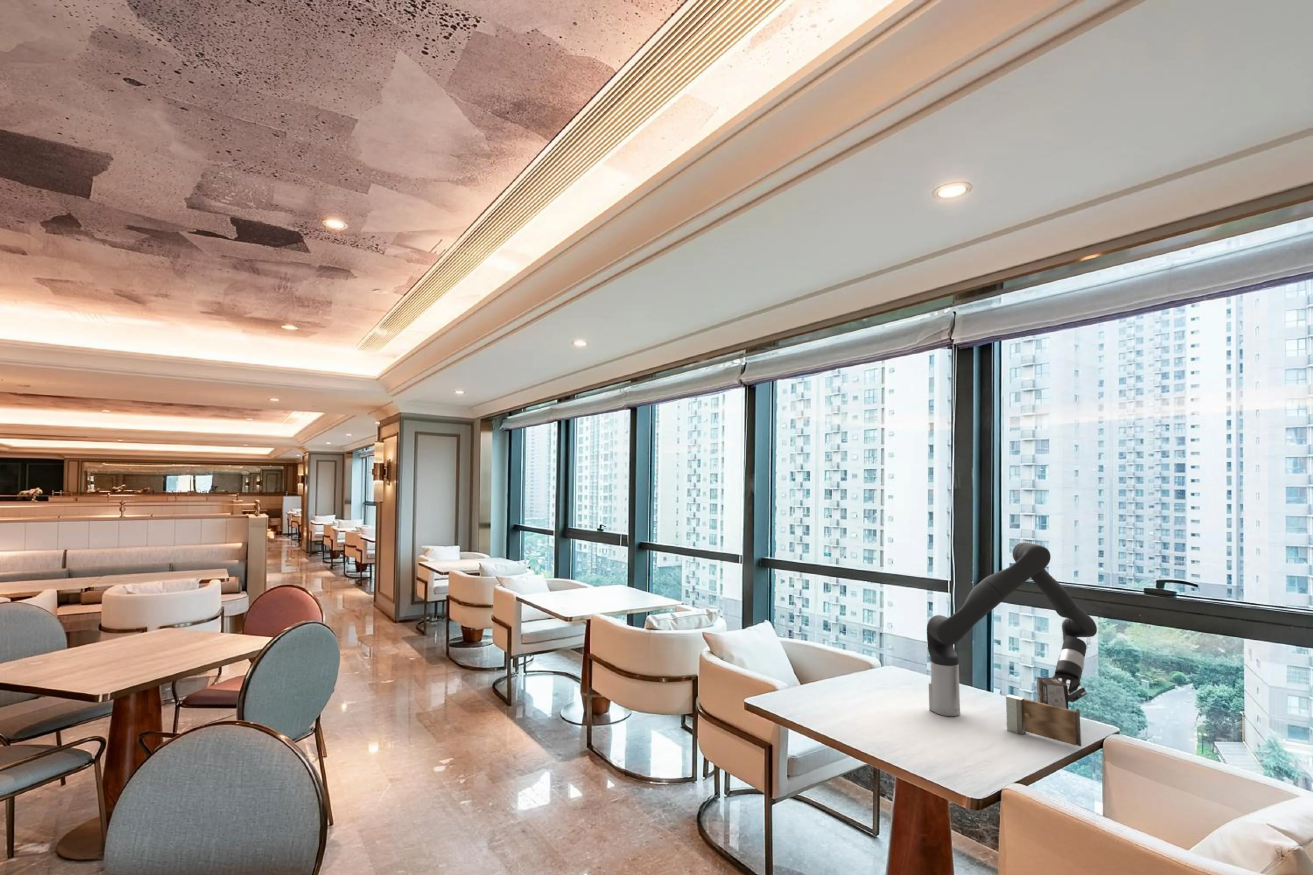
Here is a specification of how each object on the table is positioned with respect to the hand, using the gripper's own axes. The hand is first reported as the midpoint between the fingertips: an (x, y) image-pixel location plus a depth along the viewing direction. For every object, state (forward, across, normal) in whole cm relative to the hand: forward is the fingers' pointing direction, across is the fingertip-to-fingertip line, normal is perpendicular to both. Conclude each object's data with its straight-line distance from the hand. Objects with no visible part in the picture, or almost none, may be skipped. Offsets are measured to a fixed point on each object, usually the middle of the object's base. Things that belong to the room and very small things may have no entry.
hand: (1059, 709), depth 213 cm
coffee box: (+8, 0, -1) cm, 9 cm away
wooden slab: (+15, +3, -9) cm, 18 cm away
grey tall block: (+15, -8, -8) cm, 19 cm away
